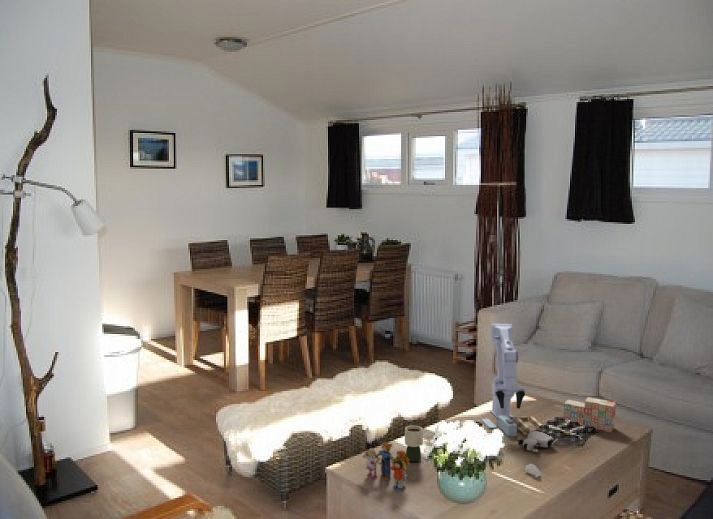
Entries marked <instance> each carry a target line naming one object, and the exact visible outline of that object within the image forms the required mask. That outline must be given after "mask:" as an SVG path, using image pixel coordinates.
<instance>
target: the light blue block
mask: <svg viewBox="0 0 713 519" xmlns="http://www.w3.org/2000/svg"><path fill="white" fill-rule="evenodd" d="M513 420H514V419H512V418H509V417H508V416H507V415H499V416H498V418H497V426H498V427H499V429H500V430H501V429H502V430H503V431H504V434H505V435H506V436H507V437H516V436H518V434H517V432H518V430H517V425H516V424H515V423H514V421H513ZM502 430H501V431H502ZM503 431H502V432H503Z"/></svg>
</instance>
